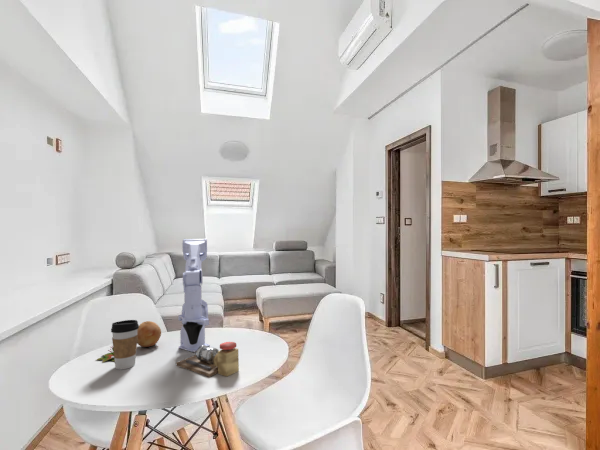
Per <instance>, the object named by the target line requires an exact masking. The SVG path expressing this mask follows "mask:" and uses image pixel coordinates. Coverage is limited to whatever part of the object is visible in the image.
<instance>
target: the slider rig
mask: <svg viewBox="0 0 600 450" xmlns="http://www.w3.org/2000/svg"><path fill="white" fill-rule="evenodd" d="M219 349H220V350H219V351H218V353H217V354H216V355H215V357H214V361H213V362H214V364H209V363H207V362H206V361H199V360H198V359H197V358H196V354H194V355H192V356H189V357H187V358H184V359H182V360H179V361H177V362H175V364H176V366H177V367H180V368H183V369H185V370H189V371H191V372H194V373H197V374H200V375H203V376H206V377H209V378H211V377H213V376H215V375H216V374H218V375H220V376H223V377H225V378H226V377H229V376H232V375H233V374H236V373H238V372H239V369H240V368H239V365H240V364H239V362H240V361H239V348H237V343H236V342H235V341H226V342H222V343H220V344H219Z"/></svg>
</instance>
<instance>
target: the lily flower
mask: <svg viewBox="0 0 600 450" xmlns="http://www.w3.org/2000/svg"><path fill="white" fill-rule="evenodd" d="M107 351H108V353H104V354H103V355H102V356H101V357H98V358H97V359H96V361H100V360H102V362H101V363H102V364H103V363H105V362H107V361H112V362H115V358H114V350H113V345H111V346H110V349H108V350H107ZM112 357H113V358H112Z"/></svg>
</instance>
